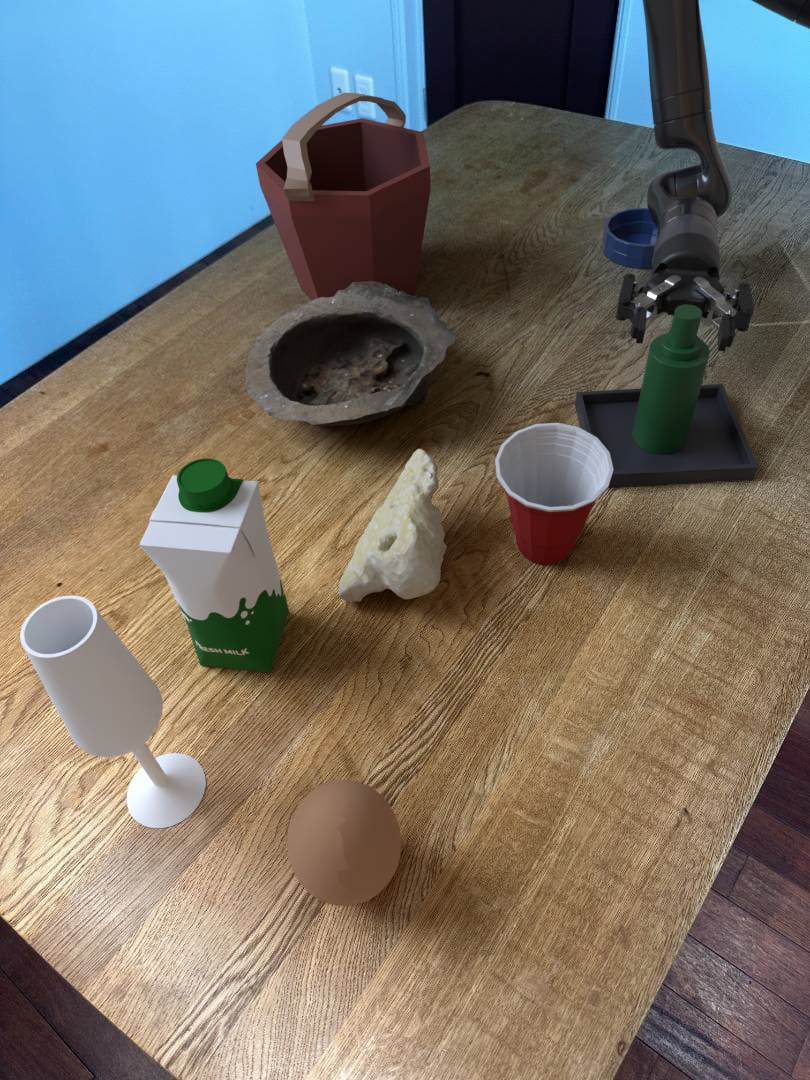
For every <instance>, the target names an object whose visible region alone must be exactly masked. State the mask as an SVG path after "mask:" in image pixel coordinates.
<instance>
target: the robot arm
mask: <svg viewBox="0 0 810 1080" xmlns="http://www.w3.org/2000/svg"><path fill="white" fill-rule="evenodd" d="M641 1H642V5H643V6H642V7H643V14H644V15H643V16H644V21H645V22H644V23H645V35H646V45H647V47H646V48H647V63H648V77H649V78H648V79H649V90H650V91H649V92H650V93H649V94H650V102H651V110H652V111H651V112H652V123H653V132H654V140H655V144H656V146H657V147H658V148H659V149H661V150H665V151H675V150H676V151H677V150H688V151H692V152H694V153H695V154H696V155H697V156H698V158H699V161H700V162H699V163H697V164H692V165H689V166H683V167H680V168H676V169H671V170H666V171H664V172H661V173H659V174H658V175H657V176H655V177H654V178H653V179H652V181H650V183H649V185H648V188H647V193H646V205H647V208H648V210H649V213H650V216H651V218H652V220H653V222H654V224H655V226H656V227H657V229H658V235H657V241H656V244H655V248H654V255H653V259H652V268H651V275H650V278H649V280H647V281H642V280H636V275H635V274H633V273H626V274H624V277H623V281H622V284H621V288H620V292H619V297H618V301H617V307H616V315H615V319H616V320H617V321H619V322H621V321H622V322H624V321H626V320H629V321H630V322H631V328H630V334H629V335H630V337H631V339H636V340H635V343H636V344H643V343H644V338H645V333H646V327H647V322H649V321H652V322H654V321H656V320H658V319H659V318H662V317H663V316H664V315H666V314H667V316H674V313H675V309H676V308H677V307H678V306H680V305H694V306H696V307H698V308H700V309H701V311H702V316H701V320H700V322H702V323H704V325H706V326H708V327H710V326H713V327H714V328H715V329H717V351H718V352H726V349H727V348H732V346H733V343H734V340H735V336H736V331H739V332H743V333H745V332H748V331H749V328H750V323H751V320H752V318H753V317H752V316H753V315H754V312H755V308H754V307H755V306H754V301H753V295H752V289H751V284H749V283H748V282H744V281H743V282H742V281H741V282H739V283H738V286H737V288H733V287H732V288H730V287H725V286H724V284H723V283H722V282H721V281H720V241H719V237H718V218H720V217H722V216H723V215H724V214H726V212H727V211H728V209H729V208H730V206H731V204H732V200H733V195H734V189H733V183H732V180H731V176H730V174H729V171H728V168H727V166H726V163H725V161H724V159H723V156H722V154H721V151H720V148H719V144H718V142H717V138H716V133H715V128H714V121H713V112H712V100H711V99H712V98H711V87H710V76H709V67H708V58H707V51H706V45H705V38H704V32H703V24H702V18H701V10H700V0H641ZM750 1H752V2H753V3H754V4H757V5H759V6H761V7H762V8H764V9H766V10H768V11H770V12H771V13H774V14H776V15H778V16H780V17H783V18H785V19H786V20H788V21H790V22H792V23H795V24H797V25H799V26H802V27H804V28H805V29H807V30H810V0H750ZM641 294H645V296H643V297H642V298H640V299H638V300H636V298H638V297H639V296H640V295H641Z"/></svg>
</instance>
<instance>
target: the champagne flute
mask: <svg viewBox="0 0 810 1080" xmlns="http://www.w3.org/2000/svg"><path fill="white" fill-rule="evenodd" d="M19 633H20V634H19V640H20V644H21V645H22V648H23V649H24V651H25V653H26V656H27V657H28V659H29V661H30V662H31V665H32V667H33V668H34V670H35V672H36V674H37V676H38V678H39V679H40V681H41V683H42V686H43V687H44V689H45V691H46V692H47V695H48V696H49V698H50V701H51V702H52V704H53V707H54V708H55V709H56V711H57V713H58V716H59V717H60V719H61V720H62V723H63V724H64V726H65V728H66V730H67V732H68V734H69V736H70V738H71V739H72V741H73V743H74V744H75V745H76V746H77V747H78V748H79V749H80V750H82V751H84V753H86V754H89V755H92V756H94V757H99V758H115V757H120V756H124V755H128V754H130V753H132V754H133V756H134V757H135V759H136V760H137V762H138V763H139V765H140V766H141V767H140V768H139V769H138V770H137V771H136V773H135V774H134V776H132V778H131V781H130V783H129V785H128V788H127V792H126V805H127V809H128V812H129V814H130V815H131V817H132V818H133V819H134V821H136V822H137V823H138V824H139V825H141V826H144V827H147V828H149V829H150V828H151V829H166V828H169V827H173V826H175V825H177V824H180V823H181V822H183V821H184V820H186V819H187V818H189V816H191V815H192V814H193V813H194V812H195V811H196V809H197V808H198V807H199V805H200V804H201V802H202V800H203V798H204V795H205V791H206V786H207V785H206V784H207V780H206V775H205V771H204V769H203V767H202V765H201V764H200V762H198V761H197V760H196V759H195V758H193V757H192V756H191V755H187V754H184V753H181V752H180V753H179V752H171V753H165V754H161V755H158V756H155V755H154V753H152V750H151V749H150V748H149V746H148V744H147V742H148V741H149V740H150V738H151V737H153V735H154V733H155V732H156V730H157V728H158V727H159V724H160V722H161V719H162V716H163V710H164V702H163V696H162V692H161V690H160V689H159V686H158V685H157V683H155V681H154V680H153V678H152V677H151V676H150V675H149V673H148V672H147V670H145V669H144V667H143V666H142V665H141V663H140V662H139V661H138V659H137V658H136V657H135V656H134V655H133V653H132V652H131V651H130V649H129V648H128V647H127V646H126V644H125V643H124V642H123V640H122V639H121V638H120V637H119V636H118V635H119V634H117V633H116V632H115V630H114V629H113V628H112V627H111V625H110V624H109V623H108V621H107V620H106V619H105V618H104V616H103V615H102V614H101V613H100V611H99V610H98V609H97V607H96V606H95V604H93V602H91V601H90V600H89V599H87V598H85V597H83V596H80V595H61V596H58V597H54V598H51V599H49V600H46V601H45V602H43V603H42V604H40V605H39V606H37V607H36V608H35V609H34V610H32V612H30V614H29V615H28V616H27V617H26V619H25V620H24V622H23V623H22V626H21V629H20V632H19Z"/></svg>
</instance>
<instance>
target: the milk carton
mask: <svg viewBox="0 0 810 1080" xmlns="http://www.w3.org/2000/svg"><path fill="white" fill-rule="evenodd" d="M262 501H263V500H262V496H261V490H260V484H259V481H256V480H244V479H243V478H232V477H230V476H229V474H228V470H227V467H226V465H225V464H224V463H222V461H220V460H218V459H215V458H209V457H203V458H198V459H195V460H192V461H190V462H188V463H186V464H185V465H183V466H182V467H181V468H180V470H179V471H178V473H177V475H174V474H173V475H171V478H170V479H169V481H168V483H167V485H166V487H165V489H164V491H163V493H162V495H161V497H160V499H159V501H158V502H157V504H156V506H155V509H154V510H153V511H152V513H151V515H150V517H149V520H148V521H149V523H148V525H147V528H146V530H145V532H144V534H143V536H142V538H141V540H140V542H139V547H140V548H141V549H142V551H144V552H145V553H146V555H147V556H148V557H149V558H150V559H151V560H152V561H153V562H154V564H155V565H156V566H157V568H159V569H160V571H161V572H162V573H163V575H164V577H165V580H166V581H167V584H168V585H169V588H170V590H171V593H172V594H173V596H174V599H175V601H176V603H177V605H178V608H179V610H180V613H181V615H182V617H183V619H184V621H185V623H186V626H187V629H188V632H189V635H190V638H191V642H192V645H193V647H194V650H195V654H196V656H197V660H198V663H199V665H200V666H201V667H210V668H211V667H212V668H221V669H228V670H229V669H230V670H239V671H248V672H249V671H251V672H257V673H258V672H259V673H267V674H271V673H272V671H273V667H274V664H275V660H276V658H277V654H278V651H279V647H280V644H281V642H282V638H283V634H284V631H285V628H286V626H287V625H286V624H287V622H288V619H289V615H290V609H289V604H288V601H287V597H286V593H285V590H284V586H283V581H282V578H281V575H280V571H279V568H278V564H277V561H276V557H275V553H274V550H273V546H272V543H271V539H270V535H269V532H268V528H267V523H266V518H265V512H264V507H263V502H262Z"/></svg>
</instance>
